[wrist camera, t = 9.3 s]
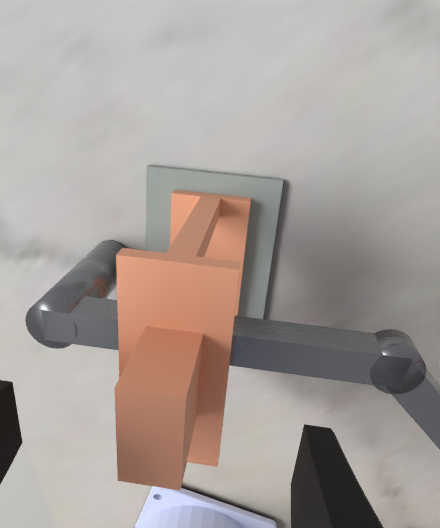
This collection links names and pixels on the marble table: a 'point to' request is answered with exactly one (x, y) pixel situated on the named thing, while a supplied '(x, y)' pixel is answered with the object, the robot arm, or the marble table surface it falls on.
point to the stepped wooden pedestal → (178, 339)
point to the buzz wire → (247, 340)
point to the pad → (258, 232)
